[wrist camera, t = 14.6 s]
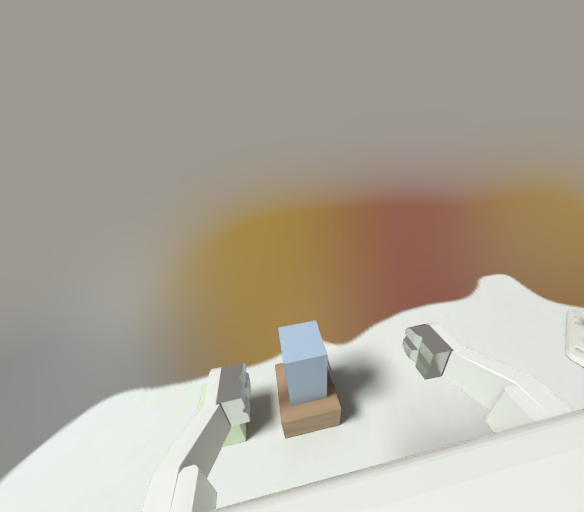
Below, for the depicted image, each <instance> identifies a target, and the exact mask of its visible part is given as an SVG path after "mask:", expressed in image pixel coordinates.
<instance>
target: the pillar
mask: <svg viewBox="0 0 584 512" xmlns="http://www.w3.org/2000/svg"><path fill="white" fill-rule="evenodd" d="M278 329H279V335H280V342H281V349H282V356H283V363H284V368H285V374H286V380H287V385H288V391H289V396H290V402H291V406H294V405H298V404H302V403H306V402H311V401H315V400H319V399H323V398H327V352H326V349H325V346H324V343H323V341H322V338H321V335H320V332H319V329H318V326H317V323H316V321H311V322H306V323H300V324H296V325H290V326H285V327H281V328H278Z"/></svg>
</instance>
